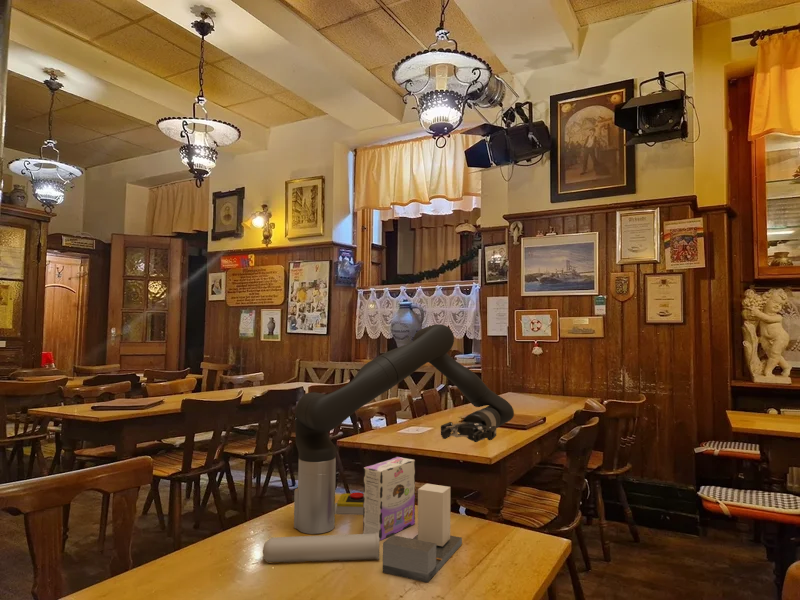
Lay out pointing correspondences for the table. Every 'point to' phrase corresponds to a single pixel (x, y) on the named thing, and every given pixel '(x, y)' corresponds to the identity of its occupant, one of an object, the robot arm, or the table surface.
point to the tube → (322, 548)
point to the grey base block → (416, 556)
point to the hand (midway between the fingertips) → (459, 436)
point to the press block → (434, 514)
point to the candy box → (389, 497)
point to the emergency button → (350, 504)
